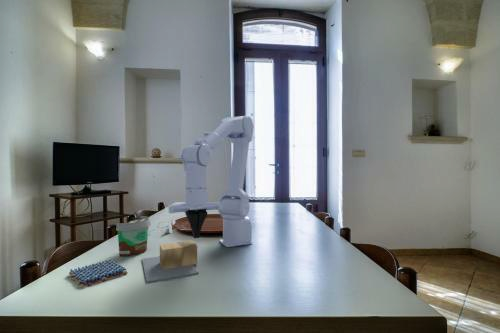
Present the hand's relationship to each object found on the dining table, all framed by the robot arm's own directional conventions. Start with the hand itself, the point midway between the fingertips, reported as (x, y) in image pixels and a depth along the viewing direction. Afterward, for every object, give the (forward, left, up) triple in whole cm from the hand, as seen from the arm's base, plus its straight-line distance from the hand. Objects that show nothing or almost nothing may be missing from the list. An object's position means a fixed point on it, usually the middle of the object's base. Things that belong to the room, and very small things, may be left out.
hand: (196, 237), depth 73 cm
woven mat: (+24, -2, -8) cm, 25 cm away
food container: (+14, -16, -7) cm, 22 cm away
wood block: (0, 0, -4) cm, 4 cm away
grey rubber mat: (+7, 0, -7) cm, 10 cm away
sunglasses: (+3, -41, -8) cm, 42 cm away
